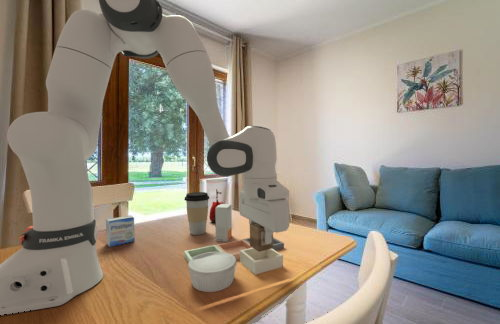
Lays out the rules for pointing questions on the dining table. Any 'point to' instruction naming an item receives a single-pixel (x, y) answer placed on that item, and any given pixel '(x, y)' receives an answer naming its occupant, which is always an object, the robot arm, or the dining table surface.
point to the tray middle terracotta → (234, 247)
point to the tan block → (258, 238)
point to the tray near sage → (200, 251)
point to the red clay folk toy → (212, 210)
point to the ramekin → (212, 271)
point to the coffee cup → (197, 211)
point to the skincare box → (223, 222)
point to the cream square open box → (261, 260)
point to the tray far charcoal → (276, 243)
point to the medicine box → (120, 230)
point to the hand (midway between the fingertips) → (261, 239)
